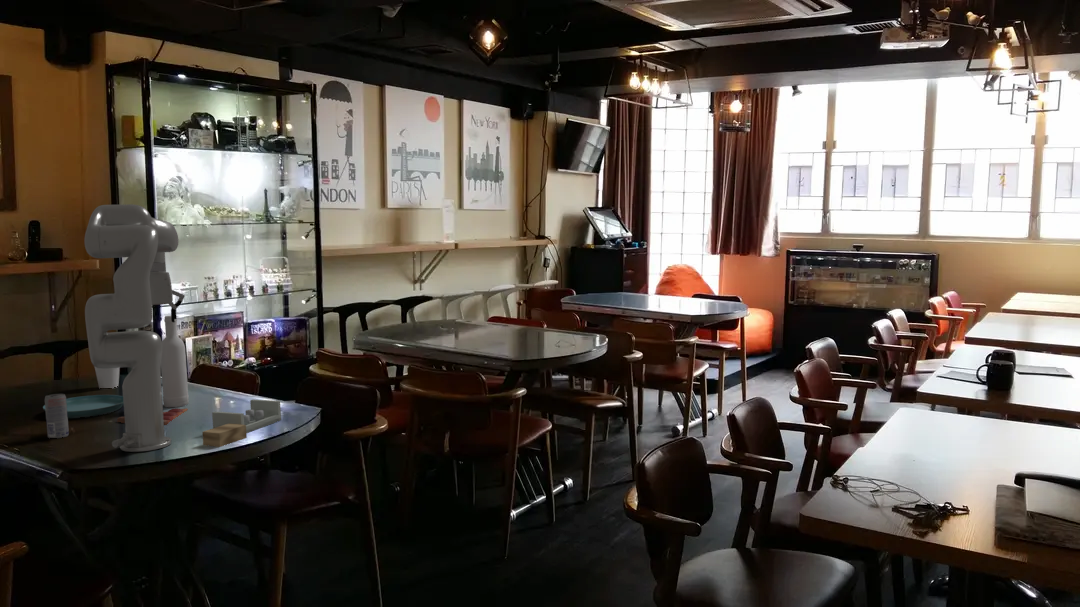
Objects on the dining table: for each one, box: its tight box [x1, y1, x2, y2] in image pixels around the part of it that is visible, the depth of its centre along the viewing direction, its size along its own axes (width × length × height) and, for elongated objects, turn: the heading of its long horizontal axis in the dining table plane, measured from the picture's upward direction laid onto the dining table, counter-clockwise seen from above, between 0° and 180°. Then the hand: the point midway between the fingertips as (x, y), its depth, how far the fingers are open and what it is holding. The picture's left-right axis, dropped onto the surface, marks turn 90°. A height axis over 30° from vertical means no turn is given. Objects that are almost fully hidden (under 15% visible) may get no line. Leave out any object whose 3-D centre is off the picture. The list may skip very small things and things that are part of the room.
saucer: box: [42, 394, 124, 419], centre depth 278 cm, size 24×24×3 cm
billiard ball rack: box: [116, 407, 189, 426], centre depth 268 cm, size 18×2×20 cm
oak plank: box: [202, 423, 247, 448], centre depth 235 cm, size 10×6×4 cm, turn 156°
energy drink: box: [44, 393, 70, 439], centre depth 245 cm, size 5×5×12 cm
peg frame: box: [211, 398, 282, 434], centre depth 252 cm, size 18×10×6 cm, turn 161°
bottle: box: [161, 314, 190, 408], centre depth 283 cm, size 8×8×30 cm
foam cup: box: [93, 365, 121, 389], centre depth 318 cm, size 10×9×13 cm
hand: (156, 322), depth 267 cm, fingers open, 9 cm apart
